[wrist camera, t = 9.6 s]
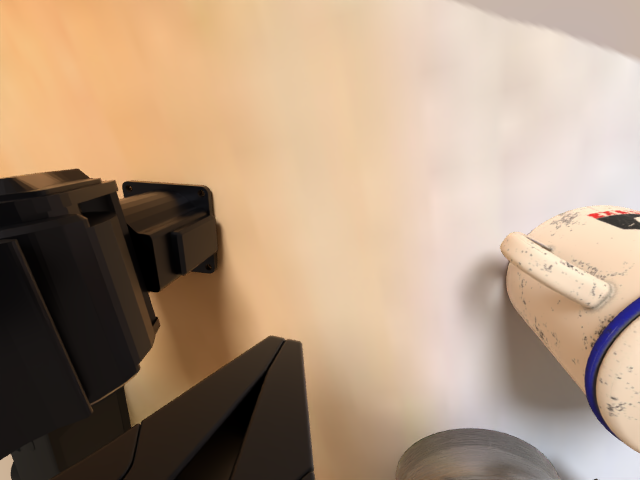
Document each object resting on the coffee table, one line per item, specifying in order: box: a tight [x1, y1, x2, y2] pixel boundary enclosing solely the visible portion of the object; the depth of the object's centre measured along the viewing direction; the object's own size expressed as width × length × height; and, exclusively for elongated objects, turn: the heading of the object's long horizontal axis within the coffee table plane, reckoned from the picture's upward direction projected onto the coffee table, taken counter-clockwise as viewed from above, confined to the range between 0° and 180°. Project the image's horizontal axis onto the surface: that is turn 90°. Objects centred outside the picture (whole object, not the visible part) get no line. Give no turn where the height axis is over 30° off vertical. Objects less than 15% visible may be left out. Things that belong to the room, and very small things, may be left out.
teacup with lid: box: [500, 205, 640, 453], centre depth 13 cm, size 12×9×12 cm
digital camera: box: [11, 387, 131, 480], centre depth 27 cm, size 10×5×7 cm, turn 175°
